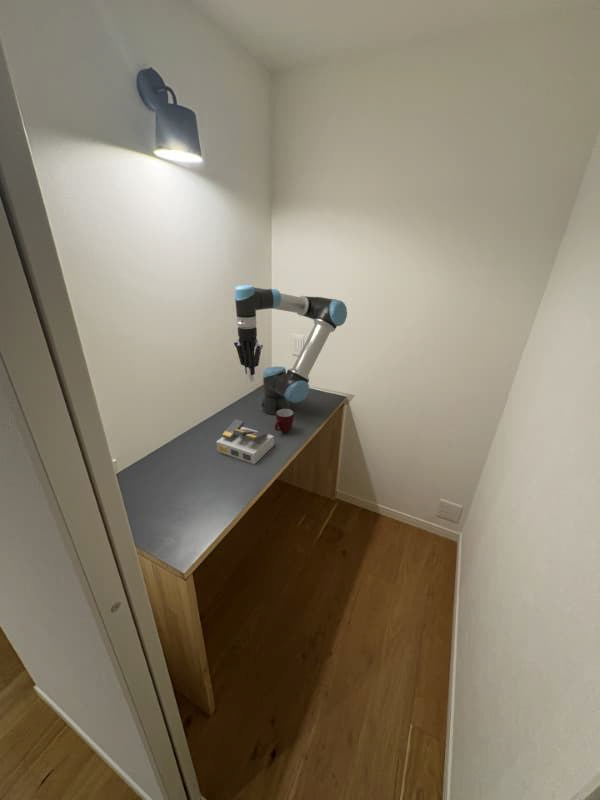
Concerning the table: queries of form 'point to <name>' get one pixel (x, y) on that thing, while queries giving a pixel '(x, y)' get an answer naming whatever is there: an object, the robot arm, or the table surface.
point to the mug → (284, 420)
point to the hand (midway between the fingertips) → (250, 381)
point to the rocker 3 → (256, 436)
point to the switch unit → (245, 447)
